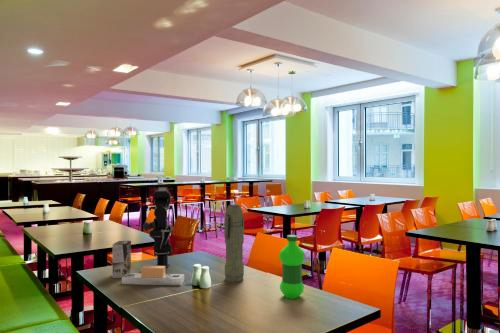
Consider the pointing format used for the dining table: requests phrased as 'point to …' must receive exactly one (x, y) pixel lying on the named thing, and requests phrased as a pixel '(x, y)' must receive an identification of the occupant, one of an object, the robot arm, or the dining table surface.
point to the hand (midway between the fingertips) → (161, 247)
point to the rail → (153, 279)
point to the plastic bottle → (292, 268)
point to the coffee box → (121, 259)
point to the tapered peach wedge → (153, 271)
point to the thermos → (234, 243)
